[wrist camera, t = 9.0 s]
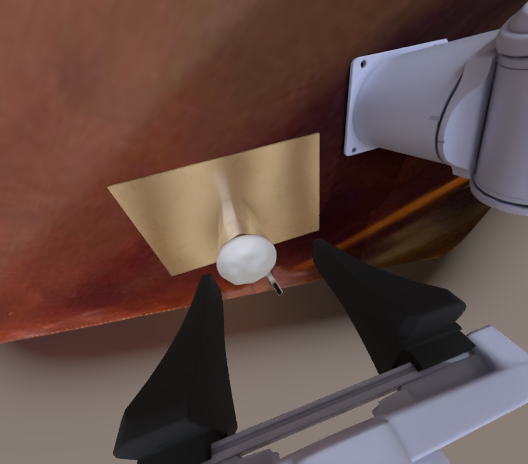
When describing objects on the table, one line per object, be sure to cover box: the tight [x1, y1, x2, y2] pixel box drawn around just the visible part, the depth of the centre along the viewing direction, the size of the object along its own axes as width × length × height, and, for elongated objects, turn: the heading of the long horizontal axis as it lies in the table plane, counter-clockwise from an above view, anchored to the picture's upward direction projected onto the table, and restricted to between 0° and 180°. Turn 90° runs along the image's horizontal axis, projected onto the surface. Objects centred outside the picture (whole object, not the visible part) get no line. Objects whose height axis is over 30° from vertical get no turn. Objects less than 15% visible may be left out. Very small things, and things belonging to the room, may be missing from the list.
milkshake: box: [217, 199, 283, 296], centre depth 17 cm, size 4×5×10 cm
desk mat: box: [108, 133, 319, 276], centre depth 21 cm, size 20×12×1 cm, turn 100°
